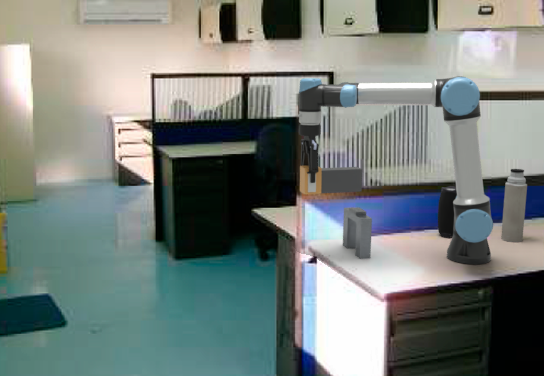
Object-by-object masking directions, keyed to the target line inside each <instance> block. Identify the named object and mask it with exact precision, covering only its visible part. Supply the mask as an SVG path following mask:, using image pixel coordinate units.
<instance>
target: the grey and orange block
mask: <svg viewBox="0 0 544 376" xmlns="http://www.w3.org/2000/svg"><path fill="white" fill-rule="evenodd" d="M318 170H319V171H318V172H317V173H316V192H308V174H307V172H309V166H301V165H300V166H299V192H300V193H301V194H303V195H317V194H318V195H321V194H333V193H335V194H337V193H338V194H339V193H356V192H357V193H358V192H362V190H363V189H362V187H363V185H362V184H363V169H362V168H360V167H359V166H346V167H345V166H343V167H320V166H319V165H318Z"/></svg>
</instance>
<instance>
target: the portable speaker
mask: <svg viewBox="0 0 544 376" xmlns="http://www.w3.org/2000/svg"><path fill="white" fill-rule="evenodd" d="M440 190H441V192H440V195H439V200H438V207H437V228H438V233H439V235H440V236H441V238H448V239H452V237H453V229H454V205H453V201H454V200H455V199H456V196H457V190H456V185H455V186H453V185H449V186H446V187H443V186H442V187H441V189H440Z"/></svg>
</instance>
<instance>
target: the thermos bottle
mask: <svg viewBox="0 0 544 376" xmlns="http://www.w3.org/2000/svg"><path fill="white" fill-rule="evenodd" d="M524 172H525V169H522V168H511V169H510V175H509V176H508V177H507V181H506V182H505V185H504V186H505V187H504V198H503V210H502V222H501V223H502V224H501V235H500V238H501V240H502V241H505V242H511V243H520V242H522V241H523V239H524V227H525V217H526V216H525V215H526V202H527V190H528V183H526V182H527V180H526V178H525V177H524V175H525V174H524Z"/></svg>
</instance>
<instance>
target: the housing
mask: <svg viewBox="0 0 544 376" xmlns="http://www.w3.org/2000/svg"><path fill="white" fill-rule="evenodd" d="M342 224H343V226H342V246H343V247H344V248H346V249H355V250H354V252H355V254H354V255H355V257H357V258H358V259H359V260H365V259H371V253H372V252H371V250H372V249H371V248H372V227H373V218H372V217H370V216H369V215H368V214H367V211H366V210H364V208H361V207H358V206H357V207H354V206H353V207H343V223H342Z"/></svg>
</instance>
